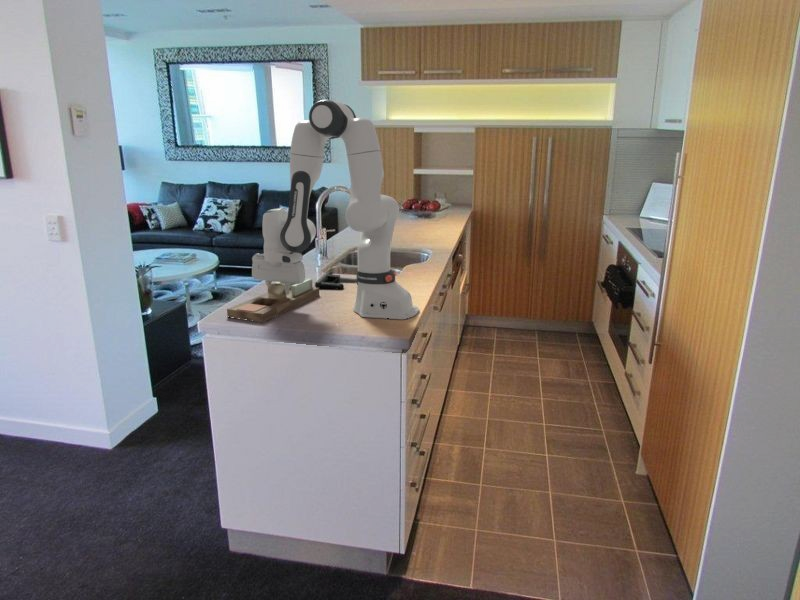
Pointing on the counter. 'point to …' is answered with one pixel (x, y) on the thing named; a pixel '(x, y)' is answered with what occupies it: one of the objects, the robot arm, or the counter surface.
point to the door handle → (332, 278)
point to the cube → (276, 291)
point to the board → (272, 305)
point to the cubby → (300, 286)
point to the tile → (251, 307)
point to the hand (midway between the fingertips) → (279, 293)
